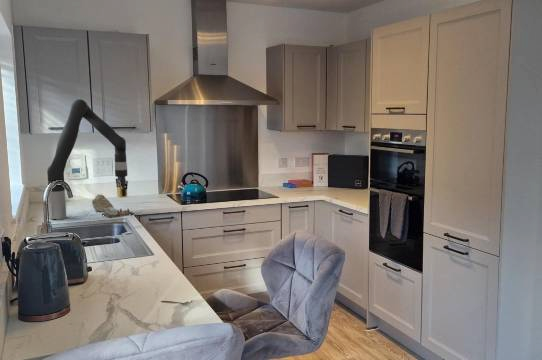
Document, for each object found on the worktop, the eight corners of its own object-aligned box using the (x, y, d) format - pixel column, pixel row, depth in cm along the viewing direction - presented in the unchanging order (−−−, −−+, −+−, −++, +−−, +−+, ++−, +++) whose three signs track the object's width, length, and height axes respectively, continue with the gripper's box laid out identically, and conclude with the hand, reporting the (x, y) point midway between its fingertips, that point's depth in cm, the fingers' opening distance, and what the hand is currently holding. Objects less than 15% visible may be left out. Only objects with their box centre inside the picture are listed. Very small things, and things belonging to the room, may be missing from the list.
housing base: (108, 218, 308) (108, 213, 307) (102, 215, 316) (102, 210, 315) (133, 214, 318) (132, 209, 317) (126, 211, 326) (126, 207, 325)
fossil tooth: (111, 214, 325) (89, 211, 326) (115, 211, 331) (93, 209, 332) (112, 197, 322) (89, 194, 324) (116, 195, 329) (94, 192, 330)
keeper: (110, 215, 309) (110, 210, 308) (104, 212, 316) (104, 208, 316) (117, 214, 311) (117, 209, 311) (111, 211, 319) (111, 207, 319)
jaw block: (120, 197, 314) (119, 188, 313) (117, 196, 318) (117, 187, 317) (127, 196, 317) (126, 187, 316) (124, 195, 321) (123, 186, 320)
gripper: (110, 168, 318) (112, 194, 320) (119, 170, 307) (121, 197, 309) (122, 167, 323) (123, 193, 325) (131, 169, 312) (132, 196, 314)
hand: (122, 195), depth 317 cm, fingers closed on jaw block, 4 cm apart
